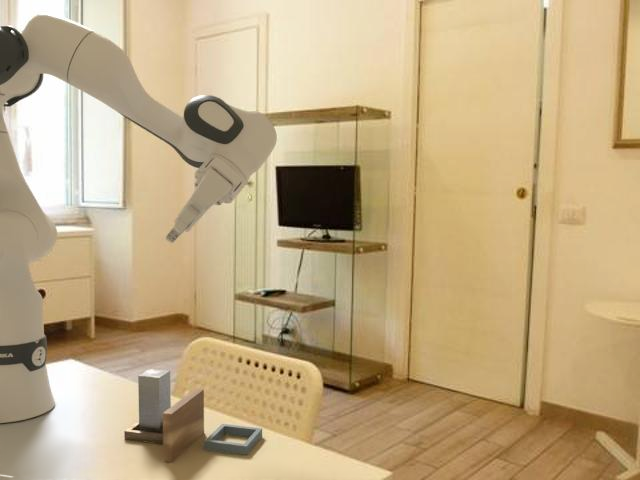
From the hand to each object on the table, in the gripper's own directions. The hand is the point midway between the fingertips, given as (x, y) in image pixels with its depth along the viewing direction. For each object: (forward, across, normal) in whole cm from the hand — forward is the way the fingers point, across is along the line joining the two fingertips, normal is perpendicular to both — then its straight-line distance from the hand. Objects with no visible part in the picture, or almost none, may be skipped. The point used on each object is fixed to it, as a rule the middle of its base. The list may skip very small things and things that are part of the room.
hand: (172, 235), depth 112 cm
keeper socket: (+23, +3, +31) cm, 38 cm away
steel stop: (+29, -6, +20) cm, 35 cm away
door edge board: (+28, +1, +24) cm, 37 cm away
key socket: (+29, -6, +20) cm, 35 cm away
